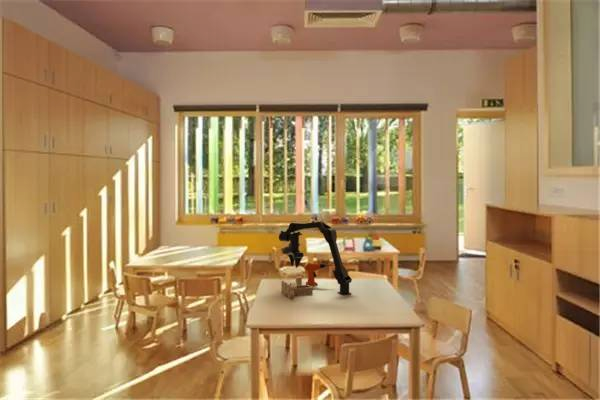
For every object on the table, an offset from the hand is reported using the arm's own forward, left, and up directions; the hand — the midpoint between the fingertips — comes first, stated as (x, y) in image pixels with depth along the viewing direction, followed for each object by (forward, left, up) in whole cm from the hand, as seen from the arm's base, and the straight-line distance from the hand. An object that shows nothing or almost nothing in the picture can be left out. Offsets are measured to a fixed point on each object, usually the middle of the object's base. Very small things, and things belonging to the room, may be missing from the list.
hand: (294, 266), depth 317 cm
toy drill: (+1, -17, -13) cm, 22 cm away
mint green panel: (-6, +1, -12) cm, 14 cm away
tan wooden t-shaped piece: (-22, +4, -13) cm, 26 cm away
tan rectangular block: (-27, +9, -8) cm, 30 cm away
